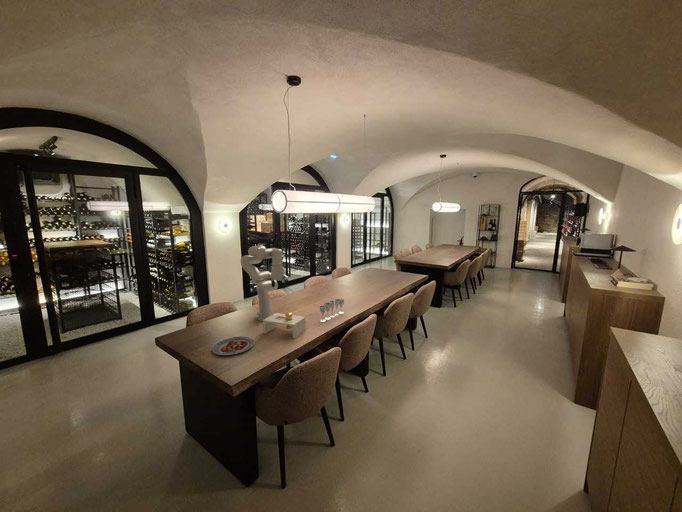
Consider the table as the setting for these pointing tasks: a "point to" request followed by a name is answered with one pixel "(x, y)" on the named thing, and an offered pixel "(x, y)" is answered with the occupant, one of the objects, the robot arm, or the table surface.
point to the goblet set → (331, 304)
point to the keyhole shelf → (285, 323)
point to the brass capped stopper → (288, 317)
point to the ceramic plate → (233, 345)
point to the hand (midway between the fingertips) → (278, 287)
